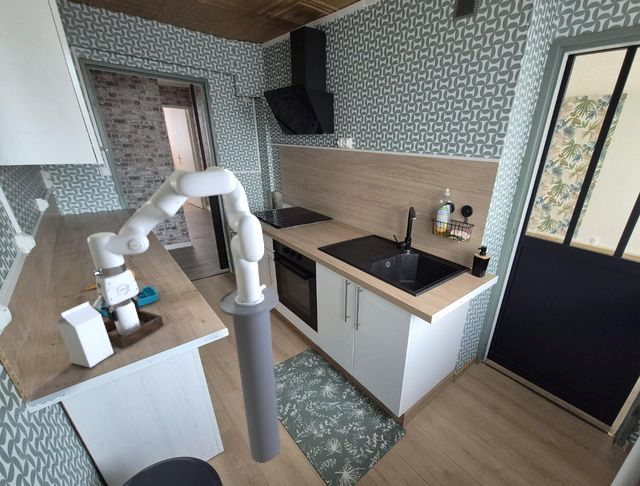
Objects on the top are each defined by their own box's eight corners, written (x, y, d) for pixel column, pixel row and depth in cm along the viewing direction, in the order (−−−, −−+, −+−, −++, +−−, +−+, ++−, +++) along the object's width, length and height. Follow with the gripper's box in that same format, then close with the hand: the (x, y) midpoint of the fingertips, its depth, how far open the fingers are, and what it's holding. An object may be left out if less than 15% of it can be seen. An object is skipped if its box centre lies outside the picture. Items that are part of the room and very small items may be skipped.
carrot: (136, 277, 146) (131, 269, 145) (137, 277, 143) (133, 268, 142) (84, 295, 132) (79, 286, 131) (85, 295, 129) (80, 286, 128)
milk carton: (114, 353, 96) (97, 303, 89) (90, 368, 89) (70, 315, 82) (96, 349, 97) (79, 299, 90) (72, 363, 90) (51, 311, 83)
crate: (135, 316, 115) (133, 307, 114) (163, 324, 111) (161, 316, 110) (93, 337, 102) (90, 328, 101) (123, 348, 98) (120, 338, 97)
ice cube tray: (161, 300, 127) (159, 294, 126) (101, 318, 113) (98, 311, 111) (152, 291, 134) (151, 285, 133) (94, 307, 119) (92, 300, 118)
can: (134, 324, 111) (126, 296, 106) (144, 329, 108) (137, 301, 104) (114, 333, 105) (105, 304, 101) (124, 338, 103) (115, 309, 98)
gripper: (89, 282, 89) (105, 330, 95) (145, 262, 104) (156, 305, 111) (73, 277, 91) (90, 325, 97) (130, 258, 106) (141, 301, 113)
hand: (125, 314), depth 104 cm, fingers closed on can, 6 cm apart
